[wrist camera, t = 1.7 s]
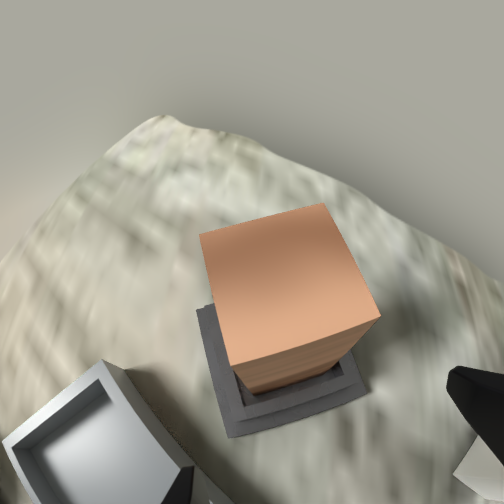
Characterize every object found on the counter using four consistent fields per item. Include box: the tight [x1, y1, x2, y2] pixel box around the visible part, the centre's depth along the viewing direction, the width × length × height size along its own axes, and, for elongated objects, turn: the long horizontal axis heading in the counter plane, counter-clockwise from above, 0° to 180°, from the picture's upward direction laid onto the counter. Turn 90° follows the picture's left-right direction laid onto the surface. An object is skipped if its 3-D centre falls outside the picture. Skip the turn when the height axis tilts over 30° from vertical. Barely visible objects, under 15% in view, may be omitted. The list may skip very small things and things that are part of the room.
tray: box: [2, 359, 235, 504], centre depth 14 cm, size 14×14×4 cm
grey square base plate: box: [196, 303, 367, 438], centre depth 19 cm, size 10×10×3 cm
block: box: [199, 203, 381, 396], centre depth 15 cm, size 5×5×12 cm
